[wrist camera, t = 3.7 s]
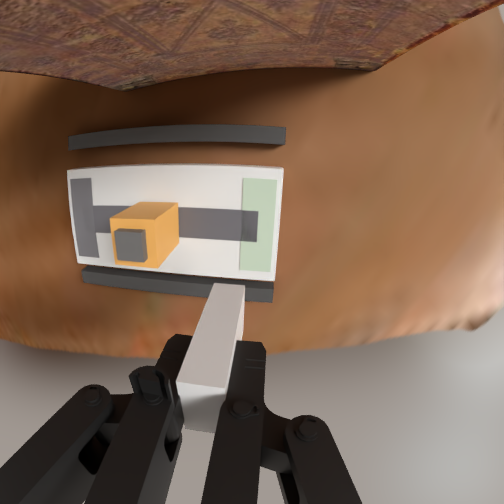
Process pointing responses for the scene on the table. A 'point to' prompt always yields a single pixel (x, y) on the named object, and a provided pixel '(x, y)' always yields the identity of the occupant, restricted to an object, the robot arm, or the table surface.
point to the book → (214, 36)
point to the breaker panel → (185, 214)
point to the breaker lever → (145, 234)
